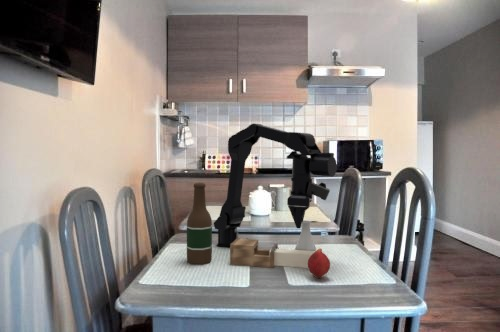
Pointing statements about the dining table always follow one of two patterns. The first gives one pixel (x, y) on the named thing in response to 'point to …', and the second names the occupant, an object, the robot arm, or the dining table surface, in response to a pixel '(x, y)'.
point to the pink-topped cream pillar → (291, 257)
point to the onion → (318, 263)
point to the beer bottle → (199, 229)
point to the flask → (305, 238)
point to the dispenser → (250, 253)
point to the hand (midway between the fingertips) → (299, 225)
